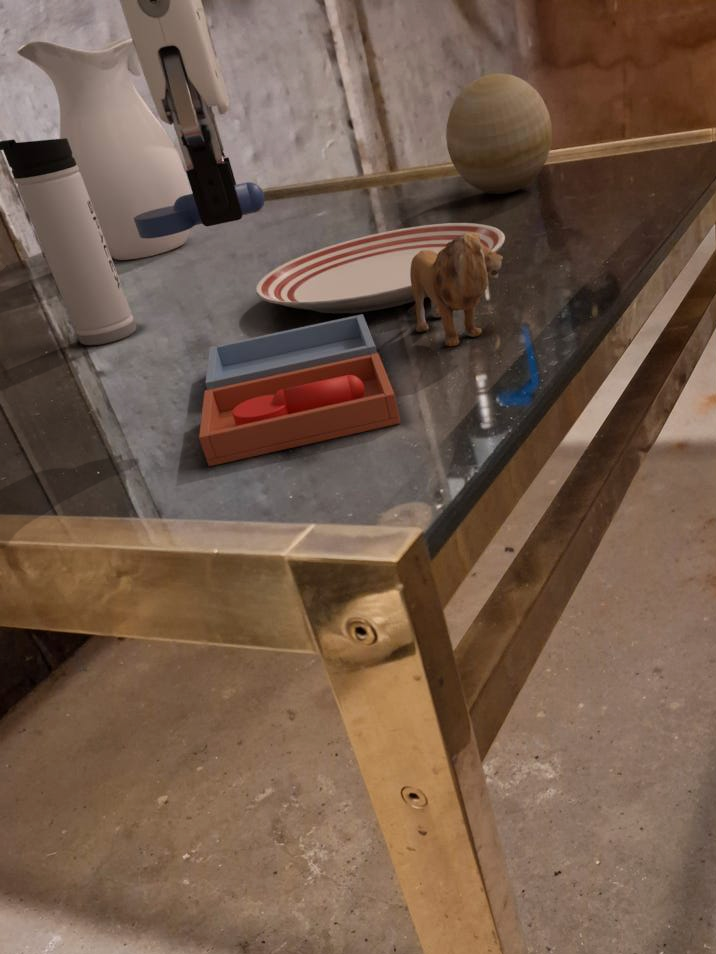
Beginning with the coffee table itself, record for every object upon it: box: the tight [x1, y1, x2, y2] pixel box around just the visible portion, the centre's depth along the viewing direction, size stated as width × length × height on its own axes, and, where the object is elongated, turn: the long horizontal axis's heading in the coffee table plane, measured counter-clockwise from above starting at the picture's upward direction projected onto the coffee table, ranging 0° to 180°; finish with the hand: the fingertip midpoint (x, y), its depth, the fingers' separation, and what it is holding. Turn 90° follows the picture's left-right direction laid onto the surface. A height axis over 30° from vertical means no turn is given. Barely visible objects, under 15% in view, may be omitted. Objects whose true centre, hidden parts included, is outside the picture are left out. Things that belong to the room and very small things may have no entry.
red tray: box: [198, 352, 401, 467], centre depth 71 cm, size 14×10×2 cm
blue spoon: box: [134, 181, 266, 239], centre depth 72 cm, size 10×4×2 cm, turn 102°
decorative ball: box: [445, 72, 553, 195], centre depth 130 cm, size 15×15×15 cm
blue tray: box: [204, 314, 378, 390], centre depth 81 cm, size 14×10×2 cm
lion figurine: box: [406, 233, 504, 347], centre depth 82 cm, size 15×5×9 cm, turn 35°
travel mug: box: [0, 138, 138, 347], centre depth 96 cm, size 6×7×20 cm
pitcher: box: [16, 37, 191, 261], centre depth 133 cm, size 24×17×28 cm
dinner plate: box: [255, 222, 506, 314], centre depth 100 cm, size 27×27×3 cm
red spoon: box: [232, 375, 365, 426], centre depth 71 cm, size 10×4×2 cm, turn 102°
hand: (223, 217), depth 73 cm, fingers closed on blue spoon, 2 cm apart
